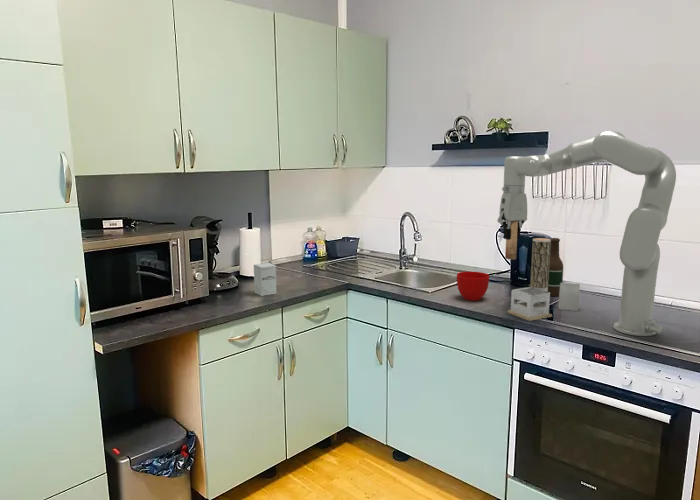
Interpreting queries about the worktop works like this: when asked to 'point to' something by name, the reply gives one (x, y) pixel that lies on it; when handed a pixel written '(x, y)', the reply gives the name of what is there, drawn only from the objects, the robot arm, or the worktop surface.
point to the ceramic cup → (472, 284)
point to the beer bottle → (555, 269)
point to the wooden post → (512, 242)
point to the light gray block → (569, 296)
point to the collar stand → (530, 303)
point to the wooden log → (540, 263)
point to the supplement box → (265, 279)
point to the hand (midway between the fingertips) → (511, 238)
